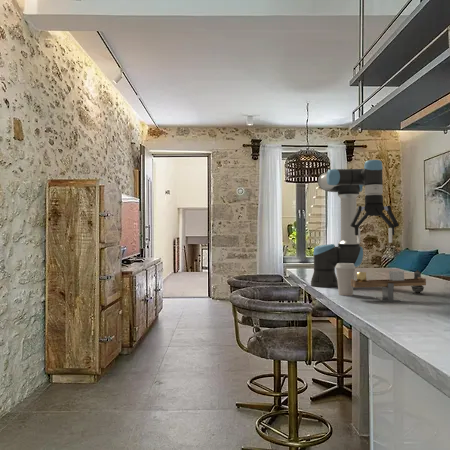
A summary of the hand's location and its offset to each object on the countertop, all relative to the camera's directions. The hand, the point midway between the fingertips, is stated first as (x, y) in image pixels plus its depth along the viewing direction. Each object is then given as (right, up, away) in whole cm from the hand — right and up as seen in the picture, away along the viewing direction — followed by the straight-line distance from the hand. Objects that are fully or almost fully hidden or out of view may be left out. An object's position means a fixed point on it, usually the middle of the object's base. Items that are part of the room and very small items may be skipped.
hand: (374, 242), depth 181 cm
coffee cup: (-8, -26, +16) cm, 32 cm away
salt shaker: (+27, -26, +17) cm, 41 cm away
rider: (+9, -17, -1) cm, 20 cm away
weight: (-6, -18, 0) cm, 19 cm away
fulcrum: (+5, -25, -1) cm, 26 cm away
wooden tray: (+5, -19, -1) cm, 20 cm away
